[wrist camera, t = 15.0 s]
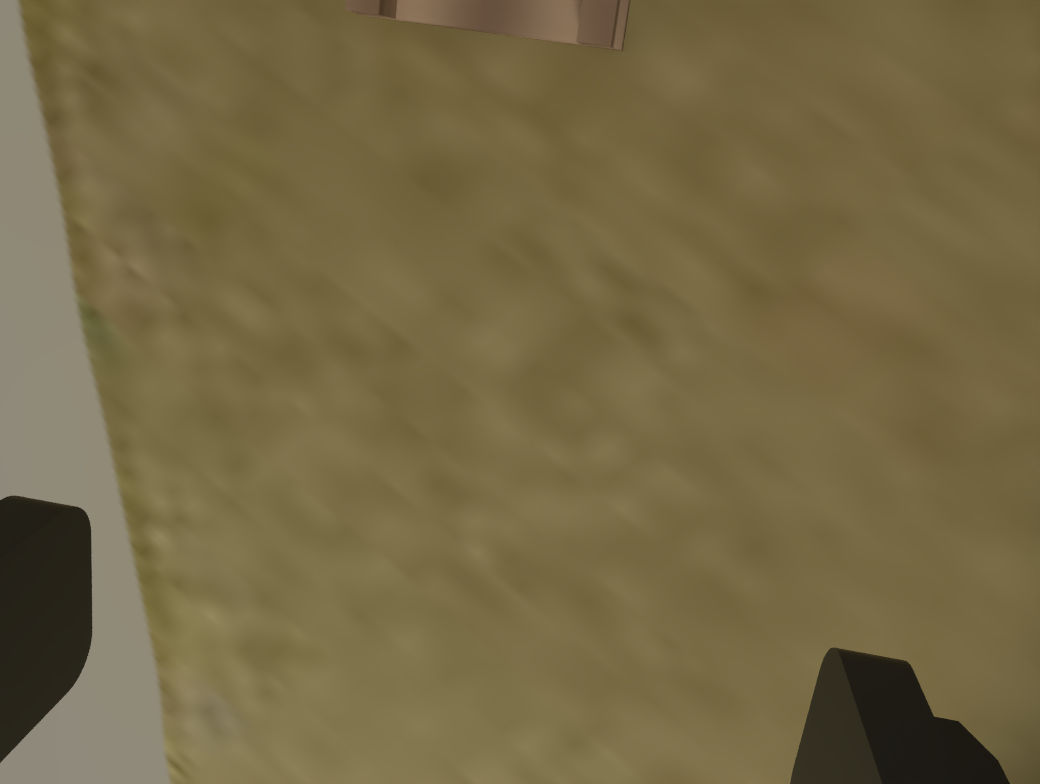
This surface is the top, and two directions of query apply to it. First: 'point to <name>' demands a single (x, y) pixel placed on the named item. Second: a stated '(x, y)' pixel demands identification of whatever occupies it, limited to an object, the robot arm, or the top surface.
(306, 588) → the top surface
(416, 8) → the brown wooden slotted rack
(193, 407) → the top surface
